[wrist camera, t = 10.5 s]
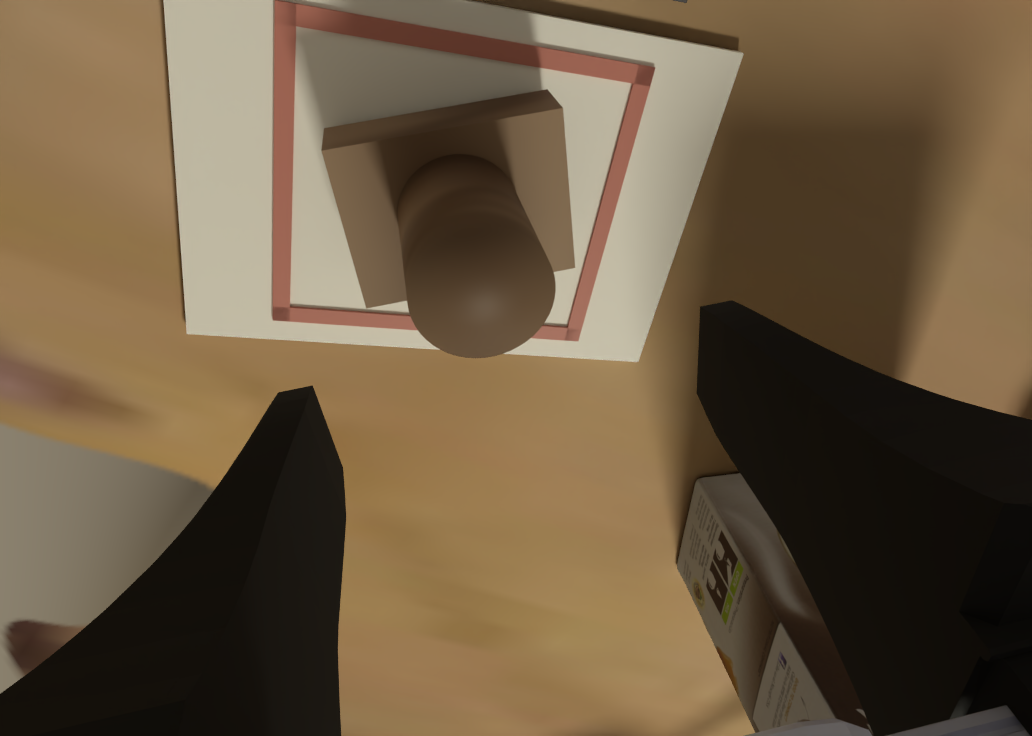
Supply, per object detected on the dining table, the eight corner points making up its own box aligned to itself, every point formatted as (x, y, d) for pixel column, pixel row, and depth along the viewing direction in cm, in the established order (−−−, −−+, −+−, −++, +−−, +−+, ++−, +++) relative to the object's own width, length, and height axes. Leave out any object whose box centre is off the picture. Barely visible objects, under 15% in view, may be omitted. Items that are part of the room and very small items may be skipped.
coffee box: (672, 572, 34) (866, 1009, 21) (694, 473, 30) (946, 930, 17) (848, 548, 35) (1130, 942, 22) (890, 450, 32) (1257, 856, 19)
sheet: (738, 51, 20) (745, 54, 20) (635, 357, 26) (638, 363, 26) (161, -59, 16) (158, -58, 16) (188, 328, 22) (186, 335, 22)
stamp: (543, 84, 20) (614, 169, 14) (557, 233, 22) (621, 353, 17) (324, 122, 19) (312, 225, 14) (365, 270, 22) (368, 405, 16)
